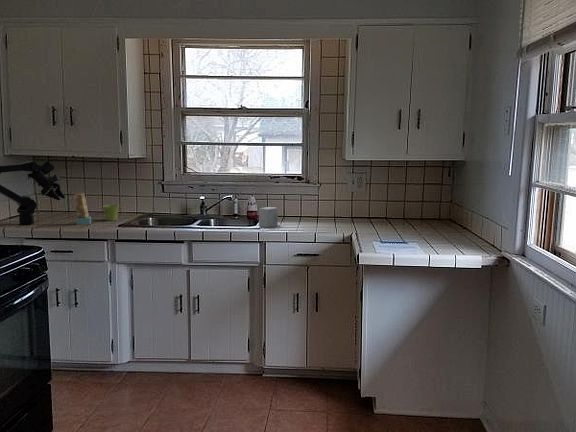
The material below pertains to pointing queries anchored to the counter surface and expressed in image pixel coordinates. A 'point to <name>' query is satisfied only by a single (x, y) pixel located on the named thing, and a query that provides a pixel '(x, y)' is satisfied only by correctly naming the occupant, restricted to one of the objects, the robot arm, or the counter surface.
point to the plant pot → (111, 212)
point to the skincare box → (268, 216)
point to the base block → (84, 220)
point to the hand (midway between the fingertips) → (62, 199)
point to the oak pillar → (81, 205)
